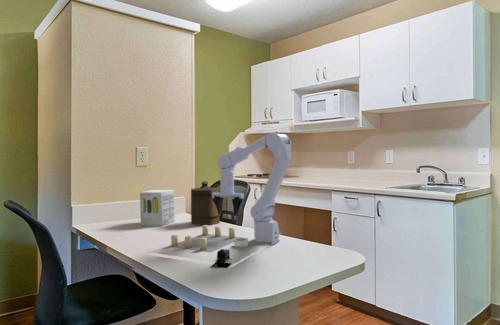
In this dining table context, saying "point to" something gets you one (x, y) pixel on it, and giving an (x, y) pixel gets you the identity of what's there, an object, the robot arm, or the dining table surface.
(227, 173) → the robot arm
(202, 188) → the wooden container
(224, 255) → the black block
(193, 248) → the board
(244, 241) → the faceted star polyhedron
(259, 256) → the dining table surface
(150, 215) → the supplement box
